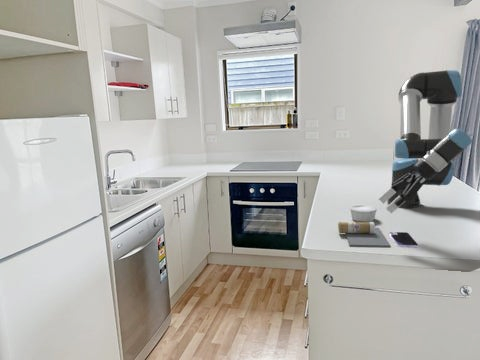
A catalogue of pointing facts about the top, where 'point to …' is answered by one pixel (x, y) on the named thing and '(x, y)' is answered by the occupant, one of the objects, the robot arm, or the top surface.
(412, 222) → the top surface
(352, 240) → the charcoal mat
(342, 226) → the sprinkles bottle
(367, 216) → the ramekin
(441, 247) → the top surface
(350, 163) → the top surface
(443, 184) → the robot arm
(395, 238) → the mobile phone
